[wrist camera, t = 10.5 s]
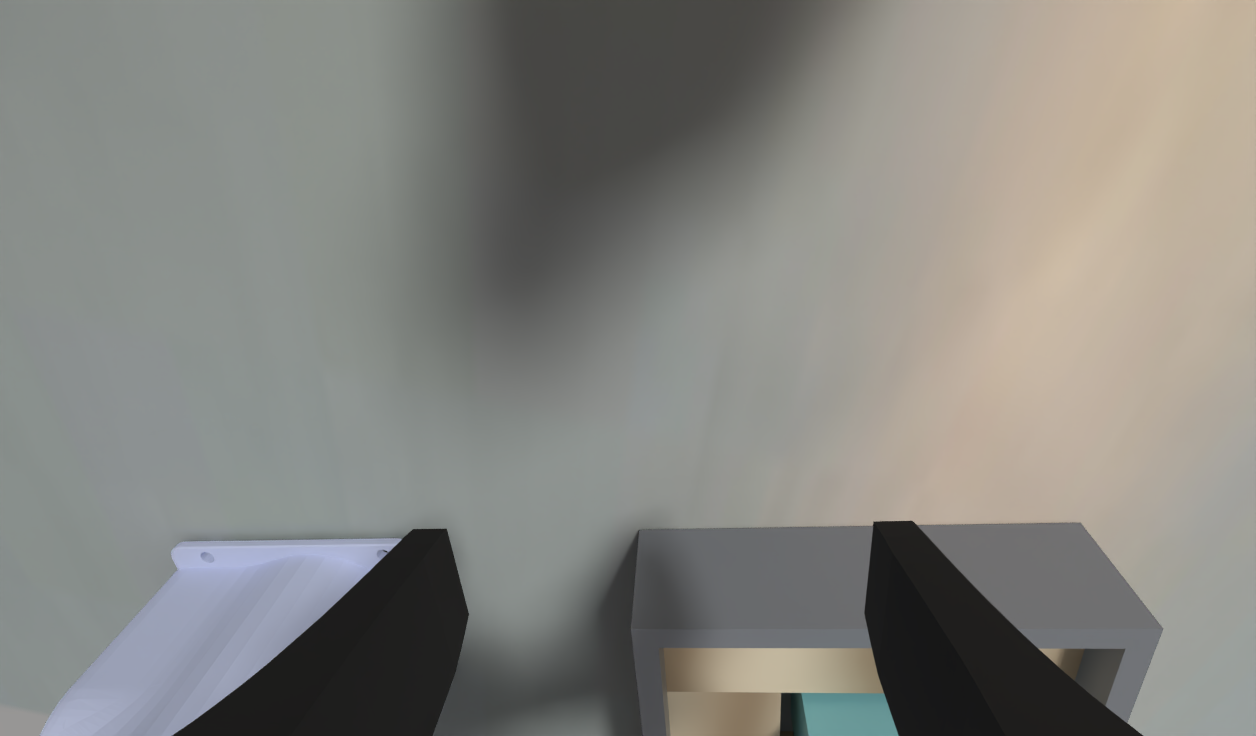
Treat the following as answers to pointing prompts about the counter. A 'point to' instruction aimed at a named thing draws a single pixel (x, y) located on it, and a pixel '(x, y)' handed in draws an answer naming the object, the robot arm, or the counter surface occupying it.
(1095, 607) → the box
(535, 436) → the counter surface
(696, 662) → the beige frame
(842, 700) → the peg
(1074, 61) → the counter surface
